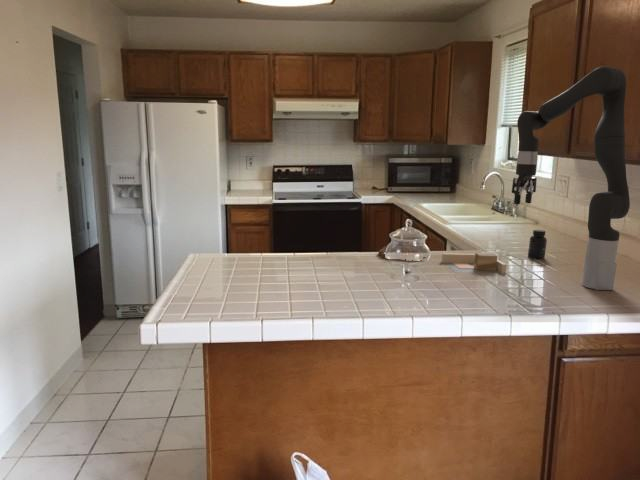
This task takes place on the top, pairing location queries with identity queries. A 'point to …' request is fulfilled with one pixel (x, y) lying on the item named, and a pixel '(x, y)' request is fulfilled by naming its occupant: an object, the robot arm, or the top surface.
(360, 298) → the top surface
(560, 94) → the robot arm
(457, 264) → the tray
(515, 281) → the top surface
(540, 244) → the supplement bottle
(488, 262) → the oak block
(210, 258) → the top surface
